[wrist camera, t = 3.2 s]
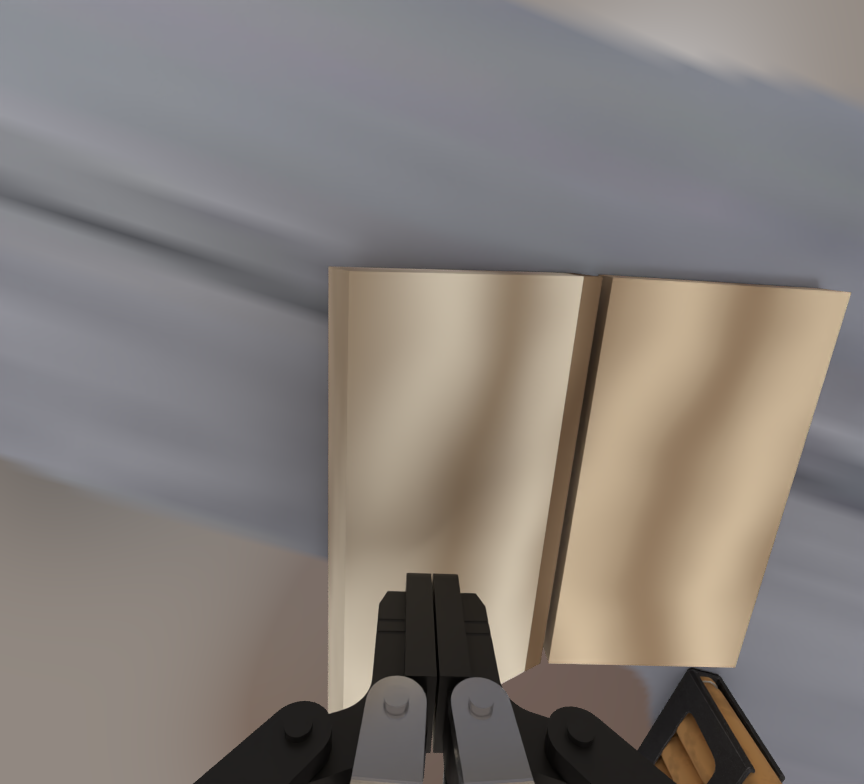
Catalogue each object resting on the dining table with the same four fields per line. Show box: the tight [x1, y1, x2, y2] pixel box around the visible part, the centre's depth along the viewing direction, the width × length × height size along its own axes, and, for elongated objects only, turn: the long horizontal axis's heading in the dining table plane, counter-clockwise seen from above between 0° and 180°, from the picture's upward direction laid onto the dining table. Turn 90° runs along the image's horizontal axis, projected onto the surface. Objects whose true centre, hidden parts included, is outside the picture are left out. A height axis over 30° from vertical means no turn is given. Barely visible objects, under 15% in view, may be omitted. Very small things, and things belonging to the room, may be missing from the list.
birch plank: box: [328, 267, 603, 714], centre depth 19 cm, size 10×18×2 cm, turn 176°
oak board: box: [543, 275, 851, 668], centre depth 22 cm, size 9×18×2 cm, turn 176°
